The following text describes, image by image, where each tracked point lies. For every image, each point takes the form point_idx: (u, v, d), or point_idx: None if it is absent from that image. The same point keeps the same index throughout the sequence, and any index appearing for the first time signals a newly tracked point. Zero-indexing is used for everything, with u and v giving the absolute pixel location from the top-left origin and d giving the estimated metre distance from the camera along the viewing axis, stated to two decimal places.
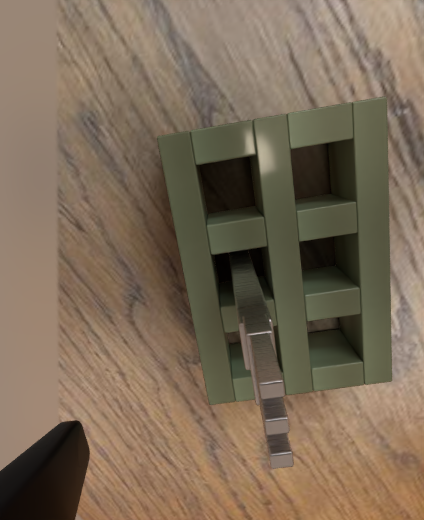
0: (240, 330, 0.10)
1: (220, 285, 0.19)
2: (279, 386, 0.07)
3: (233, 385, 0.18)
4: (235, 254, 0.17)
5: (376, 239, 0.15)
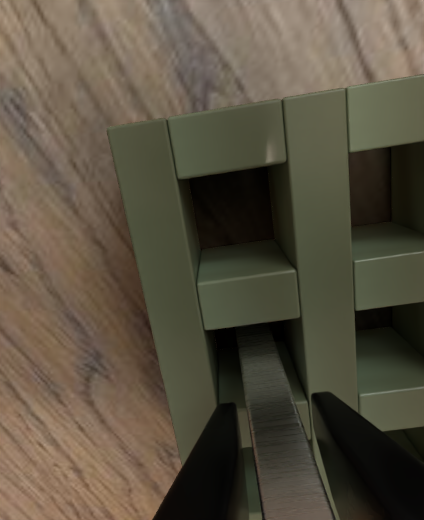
0: None
1: (219, 355, 0.13)
2: None
3: None
4: None
5: None
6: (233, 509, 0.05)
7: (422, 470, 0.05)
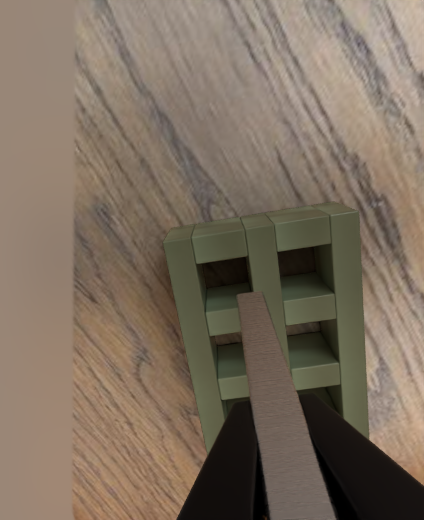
0: None
1: (218, 350, 0.22)
2: None
3: None
4: (250, 319, 0.11)
5: (352, 324, 0.18)
6: (256, 507, 0.05)
7: (397, 473, 0.05)
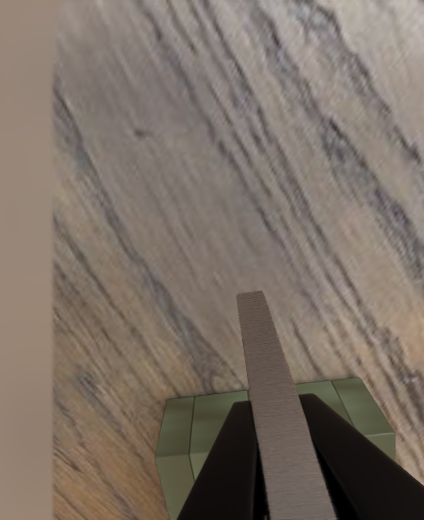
0: None
1: None
2: None
3: None
4: (250, 319, 0.11)
5: None
6: (256, 507, 0.05)
7: (397, 473, 0.05)
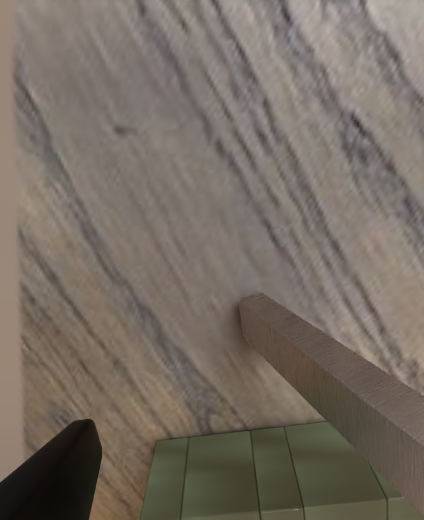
0: None
1: None
2: None
3: None
4: (277, 320, 0.10)
5: None
6: None
7: None
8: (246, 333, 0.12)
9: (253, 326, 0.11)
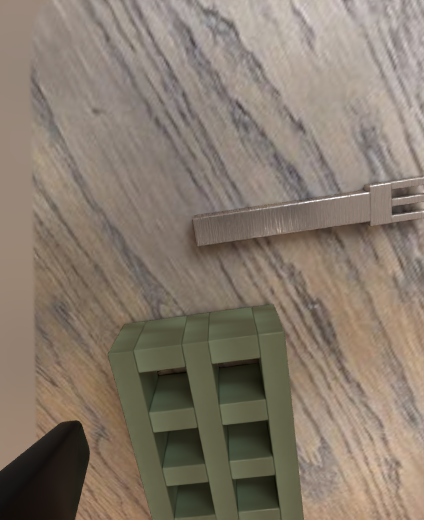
0: (369, 196, 0.18)
1: (169, 430, 0.23)
2: None
3: None
4: (233, 211, 0.19)
5: (283, 425, 0.19)
6: None
7: None
8: (203, 238, 0.19)
9: (214, 226, 0.19)
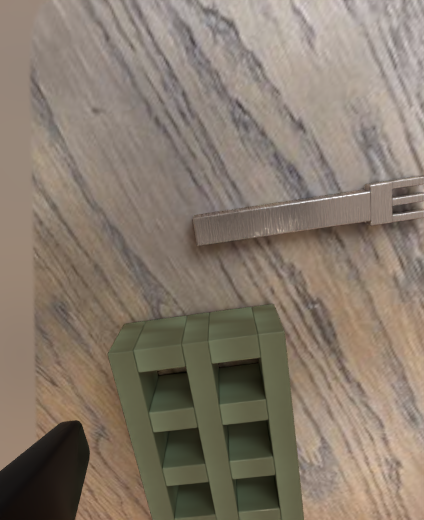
0: (369, 195, 0.18)
1: (169, 430, 0.23)
2: None
3: None
4: (233, 210, 0.19)
5: (283, 424, 0.19)
6: None
7: None
8: (203, 238, 0.19)
9: (214, 226, 0.19)
